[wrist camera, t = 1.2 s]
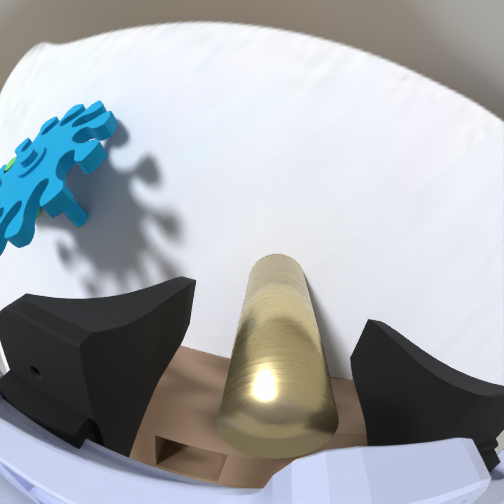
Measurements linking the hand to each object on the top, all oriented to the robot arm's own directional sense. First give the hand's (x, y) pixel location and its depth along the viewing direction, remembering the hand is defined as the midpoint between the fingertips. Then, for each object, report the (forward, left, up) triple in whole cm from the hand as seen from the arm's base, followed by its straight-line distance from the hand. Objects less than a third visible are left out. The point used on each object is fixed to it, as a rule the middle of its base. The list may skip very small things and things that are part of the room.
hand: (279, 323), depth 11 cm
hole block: (+2, -12, -5) cm, 13 cm away
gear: (-14, +4, -5) cm, 15 cm away
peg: (0, 0, -5) cm, 5 cm away
